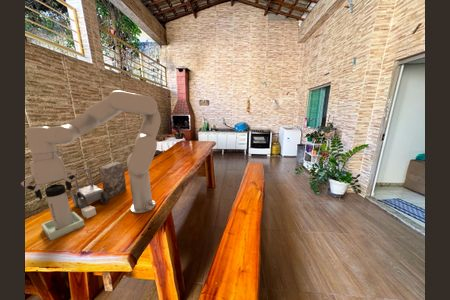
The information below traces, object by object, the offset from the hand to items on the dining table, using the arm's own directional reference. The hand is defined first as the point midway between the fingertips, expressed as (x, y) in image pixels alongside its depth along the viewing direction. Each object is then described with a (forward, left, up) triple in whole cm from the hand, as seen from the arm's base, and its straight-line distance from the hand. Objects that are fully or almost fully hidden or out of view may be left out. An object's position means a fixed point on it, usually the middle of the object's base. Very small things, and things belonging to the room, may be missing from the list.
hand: (55, 193), depth 75 cm
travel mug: (0, 0, -17) cm, 17 cm away
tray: (0, 0, -17) cm, 17 cm away
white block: (+2, -10, -17) cm, 20 cm away
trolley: (+13, -15, -17) cm, 27 cm away
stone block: (+16, -30, -17) cm, 38 cm away
